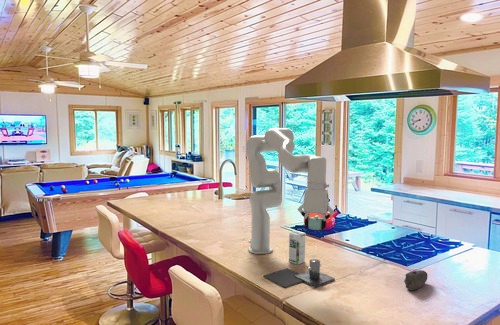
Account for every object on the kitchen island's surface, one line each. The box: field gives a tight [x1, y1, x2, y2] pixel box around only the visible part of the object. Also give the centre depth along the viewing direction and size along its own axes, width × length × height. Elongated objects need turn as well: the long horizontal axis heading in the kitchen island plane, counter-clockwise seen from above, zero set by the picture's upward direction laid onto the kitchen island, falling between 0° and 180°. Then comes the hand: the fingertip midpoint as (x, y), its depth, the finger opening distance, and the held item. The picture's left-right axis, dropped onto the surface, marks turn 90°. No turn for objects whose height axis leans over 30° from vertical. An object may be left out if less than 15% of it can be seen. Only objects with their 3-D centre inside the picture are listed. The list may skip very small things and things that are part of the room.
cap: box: [307, 214, 323, 231], centre depth 156 cm, size 6×6×5 cm
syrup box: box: [288, 230, 306, 266], centre depth 178 cm, size 6×6×14 cm
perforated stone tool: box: [403, 269, 428, 292], centre depth 151 cm, size 15×5×7 cm, turn 126°
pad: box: [262, 267, 304, 289], centre depth 160 cm, size 14×14×1 cm
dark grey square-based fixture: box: [294, 258, 336, 288], centre depth 158 cm, size 12×12×8 cm
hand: (315, 228), depth 156 cm, fingers closed on cap, 6 cm apart
